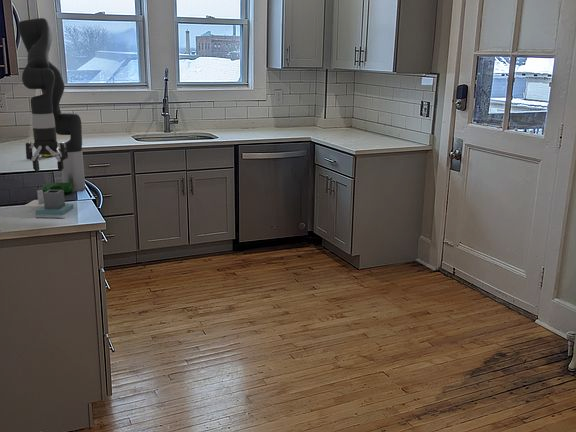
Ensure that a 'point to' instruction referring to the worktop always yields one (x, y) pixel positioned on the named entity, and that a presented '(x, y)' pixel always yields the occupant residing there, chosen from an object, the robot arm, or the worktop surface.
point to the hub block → (54, 211)
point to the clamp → (58, 187)
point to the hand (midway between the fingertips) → (48, 171)
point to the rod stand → (37, 202)
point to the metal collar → (54, 199)
